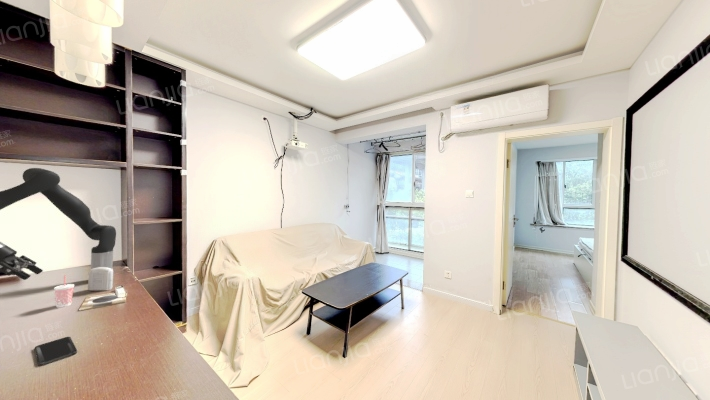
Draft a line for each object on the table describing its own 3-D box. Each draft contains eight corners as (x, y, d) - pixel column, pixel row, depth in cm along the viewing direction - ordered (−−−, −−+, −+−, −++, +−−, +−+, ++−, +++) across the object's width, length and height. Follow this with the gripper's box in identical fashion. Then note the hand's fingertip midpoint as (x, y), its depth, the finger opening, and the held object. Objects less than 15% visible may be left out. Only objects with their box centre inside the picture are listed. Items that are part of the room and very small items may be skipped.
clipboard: (87, 297, 121) (87, 295, 121) (127, 291, 131) (127, 288, 131) (78, 311, 108) (78, 308, 108) (124, 302, 117) (125, 300, 117)
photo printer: (114, 288, 135) (115, 266, 135) (107, 290, 131) (108, 268, 131) (93, 288, 133) (94, 266, 133) (86, 291, 129) (86, 268, 129)
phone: (38, 364, 73) (34, 346, 81) (38, 368, 73) (34, 349, 81) (78, 351, 80) (70, 335, 88) (77, 354, 80) (70, 338, 88)
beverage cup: (59, 309, 109) (60, 278, 109) (49, 307, 110) (50, 276, 110) (77, 303, 115) (78, 274, 115) (67, 301, 116) (68, 273, 116)
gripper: (-10, 248, 97) (33, 273, 103) (16, 242, 110) (52, 264, 115) (-32, 262, 95) (13, 287, 100) (-3, 255, 107) (35, 277, 113)
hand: (34, 275), depth 108 cm, fingers open, 8 cm apart
